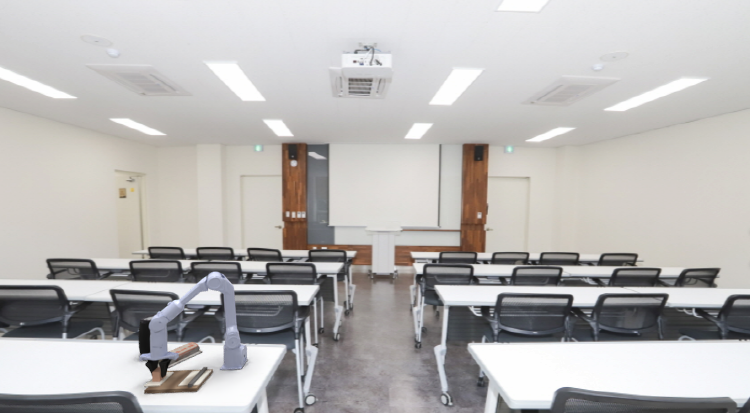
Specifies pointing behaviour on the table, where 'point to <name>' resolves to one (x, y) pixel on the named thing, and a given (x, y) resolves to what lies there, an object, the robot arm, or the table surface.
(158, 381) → the stub
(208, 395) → the table surface
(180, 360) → the packaged product
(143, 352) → the portable speaker
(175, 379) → the board
